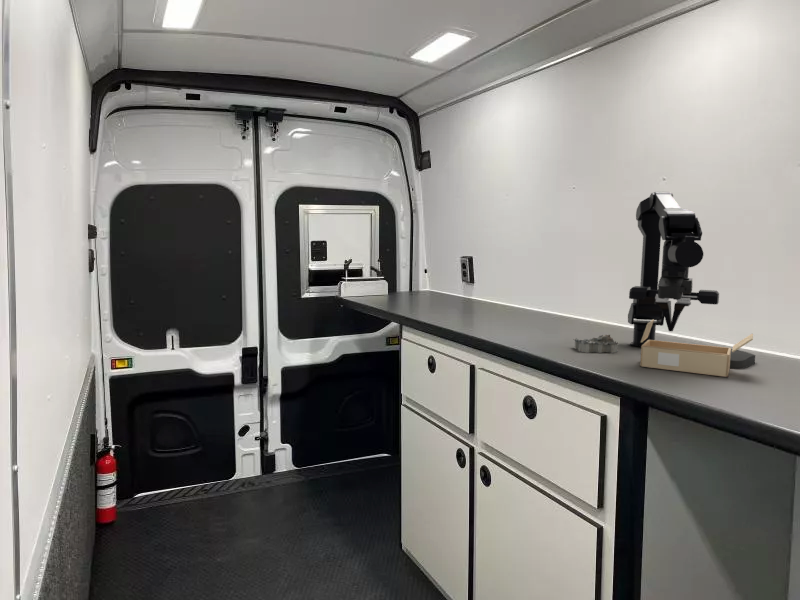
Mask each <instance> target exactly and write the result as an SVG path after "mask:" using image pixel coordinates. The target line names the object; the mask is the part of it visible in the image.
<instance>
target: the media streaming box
mask: <svg viewBox="0 0 800 600" xmlns="http://www.w3.org/2000/svg"><path fill="white" fill-rule="evenodd" d="M732 349H733V348H731V357H730V369H735V370H736V369H745V368H748V367H750V366H751V367H752V365H755V362H756V355H755V354H753V353H751V352H747V351H743V350H739V349H738V350H736V351H734V352H732Z"/></svg>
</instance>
